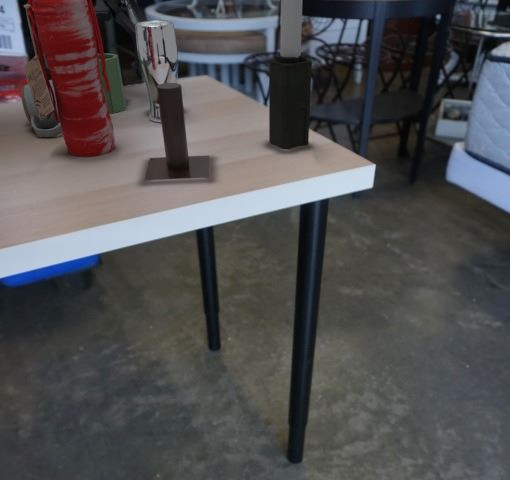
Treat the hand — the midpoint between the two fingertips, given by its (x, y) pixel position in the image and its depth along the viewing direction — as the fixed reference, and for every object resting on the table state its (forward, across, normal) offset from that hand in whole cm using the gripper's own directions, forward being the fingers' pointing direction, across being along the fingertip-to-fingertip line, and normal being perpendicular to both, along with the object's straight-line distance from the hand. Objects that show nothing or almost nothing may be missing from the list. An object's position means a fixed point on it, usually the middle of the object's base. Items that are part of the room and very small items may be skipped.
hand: (103, 76), depth 103 cm
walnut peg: (+32, -16, +24) cm, 43 cm away
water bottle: (+26, -1, +18) cm, 31 cm away
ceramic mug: (+14, +8, +5) cm, 16 cm away
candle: (+26, -33, +18) cm, 46 cm away
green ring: (+5, 0, -3) cm, 6 cm away
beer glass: (+10, -12, +2) cm, 16 cm away
